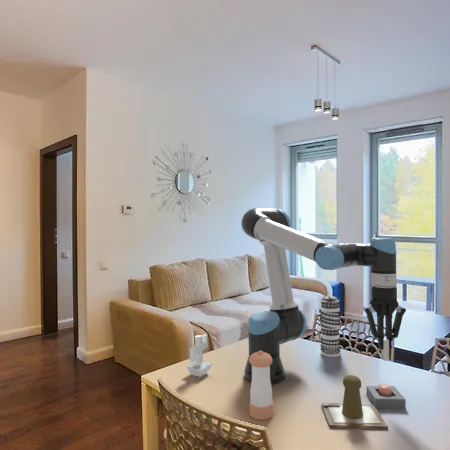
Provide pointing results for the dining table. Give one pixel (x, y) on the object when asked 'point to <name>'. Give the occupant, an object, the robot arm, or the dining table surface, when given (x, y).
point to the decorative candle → (330, 326)
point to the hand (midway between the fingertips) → (385, 359)
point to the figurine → (198, 357)
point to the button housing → (386, 398)
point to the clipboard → (338, 420)
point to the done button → (385, 390)
